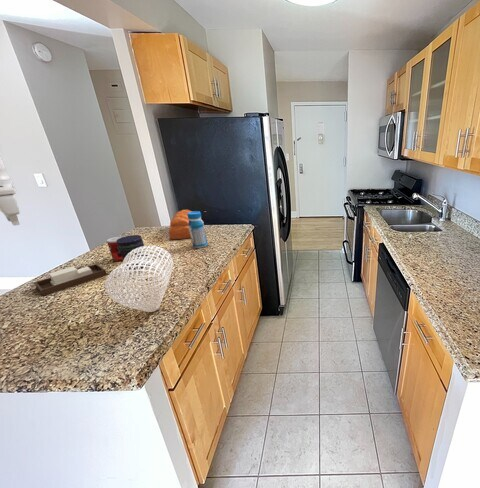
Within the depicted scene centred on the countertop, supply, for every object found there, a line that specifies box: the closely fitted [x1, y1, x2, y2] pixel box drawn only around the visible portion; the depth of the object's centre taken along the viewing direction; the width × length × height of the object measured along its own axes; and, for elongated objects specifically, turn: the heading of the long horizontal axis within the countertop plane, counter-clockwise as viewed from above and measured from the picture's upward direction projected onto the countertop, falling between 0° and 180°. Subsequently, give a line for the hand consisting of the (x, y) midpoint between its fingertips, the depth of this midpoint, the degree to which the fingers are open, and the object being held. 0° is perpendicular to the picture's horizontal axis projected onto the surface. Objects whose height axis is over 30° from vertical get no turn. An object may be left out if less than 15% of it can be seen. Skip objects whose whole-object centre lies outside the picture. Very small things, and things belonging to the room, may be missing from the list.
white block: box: [48, 266, 93, 286], centre depth 114 cm, size 13×6×5 cm, turn 146°
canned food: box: [106, 235, 124, 262], centre depth 134 cm, size 8×8×11 cm
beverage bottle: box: [187, 210, 209, 249], centre depth 148 cm, size 8×8×20 cm
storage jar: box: [116, 234, 150, 271], centre depth 124 cm, size 10×10×15 cm
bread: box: [168, 209, 193, 240], centre depth 173 cm, size 16×31×13 cm, turn 19°
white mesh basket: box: [104, 245, 174, 313], centre depth 91 cm, size 28×16×22 cm, turn 18°
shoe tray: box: [34, 263, 108, 297], centre depth 114 cm, size 21×11×3 cm, turn 146°
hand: (14, 222), depth 104 cm, fingers open, 8 cm apart
